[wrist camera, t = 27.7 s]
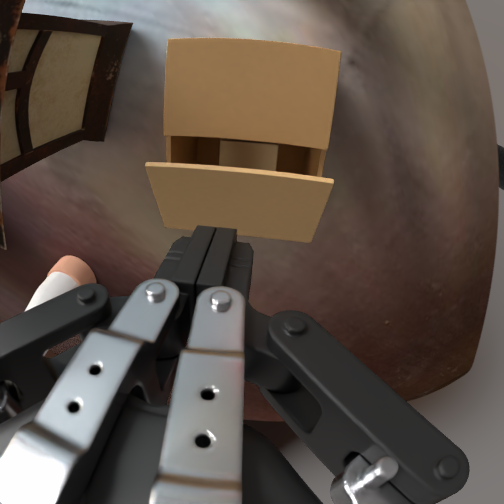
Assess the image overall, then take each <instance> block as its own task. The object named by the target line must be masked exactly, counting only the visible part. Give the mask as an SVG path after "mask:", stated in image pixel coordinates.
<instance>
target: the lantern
mask: <svg viewBox="0 0 504 504" xmlns="http://www.w3.org/2000/svg"><path fill="white" fill-rule="evenodd" d="M24 3H25V0H0V247H1V248H3V249H5V250H7V248H6V241H5V233H4V224H3V214H2V201H1V182H2V181H4V180H5V179H7V178H9V177H11V176H12V175H14V174H16V173H18V172H19V171H21V170H23V169H25V168H27V167H29V166H30V165H32V164H34V163H36V162H38V161H40V160H42V159H44V158H46V157H48V156H50V155H52V154H54V153H56V152H58V151H60V150H62V149H65V148H67V147H69V146H71V145H73V144H75V143H78V142H80V141H82V140H87V141H103V142H104V138H105V132H106V126H107V121H108V116H109V111H110V106H111V101H112V97H113V92H114V88H115V84H116V80H117V76H118V72H119V68H120V64H121V60H122V57H123V53H124V50H125V46H126V43H127V40H128V37H129V33H130V30H131V28H132V25H133V23H128V22H116V21H99V20H78V19H72V18H65V17H58V16H50V15H41V14H31V13H22V9H23V6H24Z"/></svg>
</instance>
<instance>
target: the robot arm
mask: <svg viewBox="0 0 504 504" xmlns="http://www.w3.org/2000/svg"><path fill="white" fill-rule="evenodd" d="M253 254H254V251H253V249H252V247H251V246H250V244H249V243H242V242H237V229H232V228H222V227H212V226H201V225H197V227H196V228H195V230H194V232H193V234H192V236H191V237H181V238H180V239H178V240H177V241H175V242H174V243H173V244H172V246H171V248H170V250H169V252H168V253H167V255H166V257H165V259H164V260H163V262H162V264H161V266H160V267H159V269H158V271H157V273H156V275H155V276H154V278H153V279H150V280H147V281H144V282H142V283H141V284H139V285H138V286H137V287H136V288H135V290H134V291H133V293H132V294H131V295H130V296H120V297H109V294H108V290H107V289H106V288H105V287H104V286H102V285H100V284H96V283H89V284H84V285H81V286H79V287H76V288H74V289H72V290H70V291H68V292H65V293H63V294H61V295H59V296H57V297H54V298H52V299H50V300H48V301H46V302H44V303H42V304H39V305H37V306H35V307H33V308H31V309H29V310H27V311H25V312H23V313H21V314H18V315H16V316H14V317H12V318H10V319H8V320H6V321H4V322H2V323H0V504H323V503H322V502H321V501H320V500H319V498H318V497H317V496H316V495H315V494H314V493H313V491H312V490H311V489H310V488H309V487H308V485H307V484H306V483H305V482H304V481H303V479H302V478H301V477H300V476H299V475H298V473H297V472H296V471H295V470H294V468H293V467H292V466H291V465H290V464H289V462H288V461H287V460H286V458H285V457H284V456H283V455H282V453H281V452H280V451H279V450H278V448H277V447H276V446H275V445H274V444H273V443H272V442H271V441H270V440H269V439H268V438H267V437H265V436H264V435H263V434H261V433H260V432H258V431H257V430H255V429H254V428H252V427H250V426H248V425H246V424H244V423H243V403H244V380H246V381H249V382H251V383H253V384H256V385H258V386H259V389H260V392H261V393H262V395H263V396H264V397H265V398H266V399H267V401H268V402H269V403H270V404H271V405H272V407H273V408H274V409H275V410H276V411H277V412H278V414H279V415H280V416H281V417H282V418H283V419H284V421H285V422H286V423H287V424H288V425H289V426H290V428H291V429H292V430H293V431H294V432H295V433H296V434H297V435H298V437H299V438H300V439H301V440H302V441H303V442H304V443H305V444H306V445H307V447H308V448H309V449H310V450H311V451H312V452H313V453H314V454H315V455H316V456H317V458H318V459H319V460H320V461H321V462H322V463H323V464H324V465H325V466H326V467H327V468H328V469H329V470H330V471H331V472H332V473H333V474H334V475H335V478H334V480H333V481H332V484H331V488H330V494H331V499H332V501H333V502H334V504H436V503H438V502H440V501H441V500H444V499H446V498H448V497H449V496H451V495H453V494H455V493H457V492H458V491H459V490H461V489H462V488H463V486H464V485H465V483H466V482H467V479H468V476H469V462H468V459H467V457H466V455H465V454H464V452H463V451H462V450H461V449H460V448H459V447H457V446H456V445H455V444H454V443H453V442H452V441H451V440H449V439H448V438H447V437H446V436H445V435H444V434H443V433H441V432H440V431H439V430H438V429H437V428H436V427H434V426H433V425H432V424H431V423H430V422H429V421H428V420H426V419H425V418H424V417H423V416H422V415H421V414H420V413H419V412H417V411H416V410H415V409H414V408H413V407H412V406H411V405H410V404H408V403H407V402H406V401H405V400H404V399H403V398H402V397H400V396H399V395H398V394H397V393H396V392H395V391H394V390H393V389H391V388H390V387H389V386H388V385H387V384H386V383H385V382H384V381H382V380H381V379H380V378H379V377H378V376H377V375H376V374H375V373H373V372H372V371H371V370H370V369H369V368H368V367H367V366H366V365H364V364H363V363H362V362H361V361H360V360H359V359H358V358H357V357H355V356H354V355H353V354H352V353H351V352H350V351H349V350H348V349H346V348H345V347H344V346H343V345H342V344H341V343H340V342H339V341H338V340H336V339H335V338H334V337H333V336H332V335H331V334H330V333H329V332H328V331H326V330H325V329H324V328H323V327H322V326H321V325H320V324H319V323H317V322H316V321H315V320H314V319H313V318H312V317H310V316H309V315H307V314H305V313H303V312H299V311H292V310H289V311H282V312H279V313H277V314H275V315H274V316H273V317H269V316H267V315H264V314H262V313H260V312H258V311H256V310H255V309H254V308H253V307H252V306H251V305H250V303H249V301H248V300H249V293H250V285H251V275H252V265H253ZM77 334H79V337H80V339H81V341H82V343H80V344H78V345H76V346H74V347H72V348H70V349H68V350H66V351H64V352H62V353H60V354H59V355H57V356H55V357H52V358H46V357H44V356H43V354H44V352H45V351H46V350H48V349H50V348H52V347H54V346H56V345H57V344H59V343H61V342H63V341H65V340H67V339H69V338H71V337H73V336H75V335H77ZM188 337H189V339H188ZM187 339H188V343H187V348H185V346H186V342H187ZM173 385H174V386H173ZM172 387H173V391H172V396H171V401H170V405H167V401H168V397H169V395H170V392H171V390H172Z"/></svg>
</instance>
